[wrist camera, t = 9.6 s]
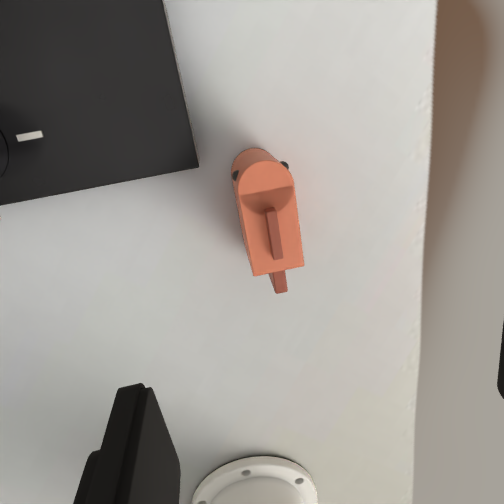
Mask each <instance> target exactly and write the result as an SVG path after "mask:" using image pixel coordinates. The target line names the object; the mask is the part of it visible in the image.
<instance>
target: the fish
mask: <svg viewBox="0 0 504 504" xmlns="http://www.w3.org/2000/svg"><path fill="white" fill-rule="evenodd" d="M288 168H289V167H288V164H287V163H286V162H284V161H282V162H279V161H278V160H276V159H275V158H274V157H273V156H272V155H270V154H269V153H268V152H266V151H265V150H262V149H258V148H251V149H247V150H245V151H243V152H241V153H240V154H239V155H238V156H237V157H236V158H235V160H234V162H233V164H232V169H231V176H232V181H233V186H234V192H235V197H236V202H237V207H238V213H239V218H240V223H241V228H242V234H243V239H244V244H245V248H246V251H247V255H248V258H249V262H250V265H251V269H252V272H253V276H258V275H263V274H269V277H270V279H271V282H272V285H273V287H274V290H275V293H276V294H278V293H283V292H287V291H288V289H287V282H286V276H285V270H287V269H292V268H297V267H302V266H304V259H303V251H302V243H301V235H300V228H299V220H298V212H297V204H296V196H295V188H294V182H293V178H292V175H291V173H290V172H289V170H288Z"/></svg>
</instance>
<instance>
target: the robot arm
mask: <svg viewBox="0 0 504 504" xmlns="http://www.w3.org/2000/svg"><path fill="white" fill-rule="evenodd" d="M497 387H498V390H499V392H500V394H501V396H502V397H503V399H504V323H503V332H502V343H501V352H500V363H499V372H498V382H497ZM180 476H181V472H180V463H179V459H178V456H177V453H176V451H175V448H174V445H173V443H172V440H171V437H170V434H169V432H168V429H167V426H166V424H165V421H164V418H163V416H162V413H161V410H160V407H159V405H158V402H157V399H156V397H155V394H154V391H153V389H152V388H151V387H148V388H145V386H144V385H143V384H142V383H139V384H135V385H130V386H126V387H121V388H119V389H118V391H117V393H116V397H115V400H114V404H113V407H112V411H111V414H110V418H109V421H108V424H107V428H106V431H105V435H104V438H103V442H102V445H101V449H100V450H97V451H93V452H92V453H91V454H90V455H89V457H88V459H87V462H86V465H85V468H84V471H83V474H82V477H81V480H80V484H79V487H78V490H77V493H76V496H75V499H74V503H73V504H179V493H180ZM192 504H317V492H316V489H315V485H314V482H313V480H312V478H311V476H310V475H309V474H308V473H307V471H306V470H305V469H303V468H302V467H301V466H299V465H298V464H296V463H294V462H291V461H289V460H286V459H282V458H278V457H270V456H257V457H249V458H244V459H239V460H236V461H233V462H231V463H228V464H226V465H224V466H222V467H220V468H218V469H217V470H215V471H214V472H213V473H211V474H210V475H208V476H207V477H206V478H205V479H204V480H203V481H202V482H201V483H200V485H199V486H198V488H197V490H196V491H195V493H194V496H193V499H192Z"/></svg>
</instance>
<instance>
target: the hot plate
mask: <svg viewBox="0 0 504 504" xmlns="http://www.w3.org/2000/svg"><path fill="white" fill-rule="evenodd" d="M0 133H1V134H2V136H3V138H4V140H5V143H6V146H7V150H8V162H7V166H6V169H5V171H4V173H3V174H2V175H1V177H0V206H1V205H6V204H11V203H16V202H22V201H27V200H32V199H37V198H42V197H48V196H53V195H58V194H63V193H68V192H74V191H79V190H84V189H89V188H94V187H100V186H105V185H110V184H115V183H120V182H126V181H131V180H136V179H141V178H146V177H152V176H157V175H162V174H167V173H172V172H177V171H183V170H188V169H193V168H198V167H199V161H200V160H199V155H198V151H197V146H196V142H195V137H194V133H193V128H192V123H191V119H190V114H189V110H188V105H187V101H186V96H185V92H184V87H183V83H182V78H181V74H180V69H179V64H178V60H177V55H176V51H175V46H174V42H173V37H172V33H171V28H170V24H169V19H168V15H167V10H166V5H165V1H164V0H0ZM0 220H1V217H0Z"/></svg>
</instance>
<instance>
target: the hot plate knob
mask: <svg viewBox="0 0 504 504" xmlns="http://www.w3.org/2000/svg"><path fill="white" fill-rule="evenodd" d="M7 162H8V150H7V146H6V143H5V140H4V138H3V136H2V134H1V133H0V177H1V175H2V174H3V173H4V171H5V169H6V166H7Z"/></svg>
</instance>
